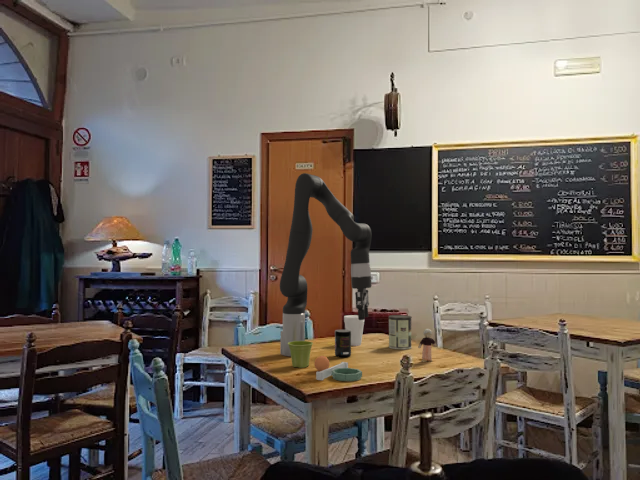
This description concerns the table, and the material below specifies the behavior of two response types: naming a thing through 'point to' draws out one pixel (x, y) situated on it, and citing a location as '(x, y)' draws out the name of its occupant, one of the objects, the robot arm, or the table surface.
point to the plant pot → (300, 353)
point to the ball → (321, 363)
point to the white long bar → (330, 371)
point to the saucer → (346, 374)
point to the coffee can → (400, 332)
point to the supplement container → (342, 343)
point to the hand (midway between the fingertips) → (363, 318)
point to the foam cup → (354, 328)
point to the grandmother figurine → (427, 346)
